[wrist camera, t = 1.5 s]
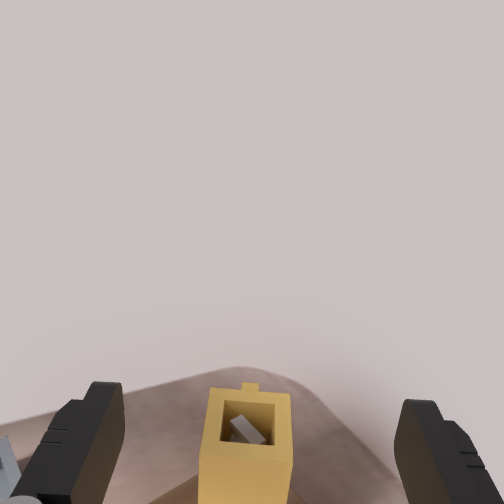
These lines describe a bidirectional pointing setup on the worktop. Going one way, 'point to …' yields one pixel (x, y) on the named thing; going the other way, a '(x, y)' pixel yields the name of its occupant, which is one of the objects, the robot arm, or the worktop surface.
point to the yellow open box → (246, 448)
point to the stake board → (186, 495)
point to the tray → (7, 469)
